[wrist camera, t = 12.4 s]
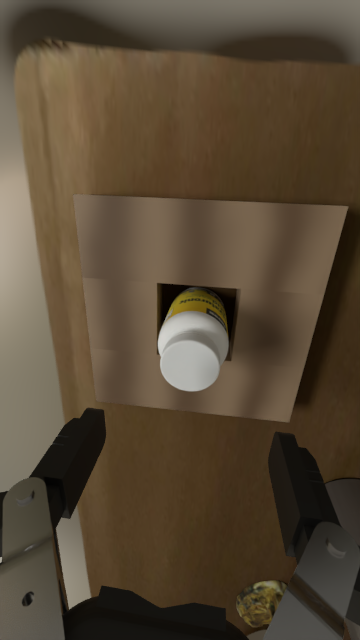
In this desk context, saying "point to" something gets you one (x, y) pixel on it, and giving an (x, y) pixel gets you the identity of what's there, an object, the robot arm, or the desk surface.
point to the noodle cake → (260, 602)
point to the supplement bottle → (193, 340)
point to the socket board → (212, 271)
